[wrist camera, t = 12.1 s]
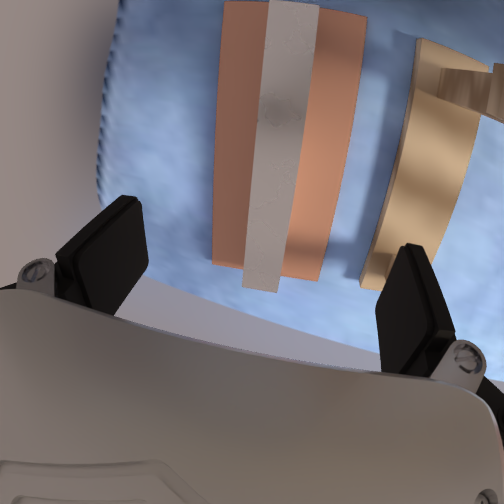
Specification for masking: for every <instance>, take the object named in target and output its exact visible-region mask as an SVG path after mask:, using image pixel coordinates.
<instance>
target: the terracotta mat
mask: <svg viewBox="0 0 504 504" xmlns="http://www.w3.org/2000/svg"><path fill="white" fill-rule="evenodd" d="M268 9H269V2H257V1H225V2H224V13H223V24H222V36H221V48H220V62H219V76H218V92H217V110H216V130H215V154H214V183H213V228H212V264H214V265H220V266H226V267H232V268H238V269H243V270H244V258H245V247H246V236H247V225H248V214H249V203H250V192H251V182H252V171H253V160H254V150H255V139H256V129H257V118H258V108H259V98H260V88H261V78H262V68H263V58H264V48H265V38H266V28H267V19H268ZM366 25H367V17H365V16H361V15H357V14H352V13H347V12H342V11H337V10H331V9H325V8H319V16H318V25H317V34H316V43H315V51H314V59H313V67H312V75H311V83H310V91H309V98H308V106H307V113H306V120H305V127H304V134H303V141H302V148H301V154H300V161H299V167H298V174H297V180H296V187H295V193H294V199H293V205H292V211H291V217H290V223H289V229H288V235H287V241H286V246H285V252H284V258H283V263H282V269H281V274H280V276H286V277H292V278H298V279H304V280H311V281H317V282H318V278H319V274H320V270H321V267H322V263H323V259H324V255H325V251H326V247H327V243H328V239H329V235H330V231H331V227H332V222H333V218H334V214H335V209H336V205H337V200H338V196H339V191H340V187H341V182H342V177H343V172H344V167H345V162H346V157H347V152H348V147H349V142H350V136H351V131H352V125H353V119H354V113H355V107H356V101H357V95H358V88H359V81H360V74H361V67H362V60H363V52H364V43H365V34H366Z"/></svg>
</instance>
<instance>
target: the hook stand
mask: <svg viewBox="0 0 504 504" xmlns="http://www.w3.org/2000/svg"><path fill="white" fill-rule="evenodd" d="M488 70H489V66H487V65H485V64H483V63H481V62H479V61H477V60H475V59H473V58H470V57H468V56H466V55H464V54H462V53H459V52H457V51H455V50H452V49H450V48H448V47H445V46H443V45H440V44H438V43H435V42H432V41H430V40H427V39H424V38H419V39H417V41H416V49H415V57H414V65H413V72H412V78H411V84H410V90H409V96H408V102H407V107H406V113H405V118H404V123H403V127H402V132H401V137H400V141H399V146H398V150H397V154H396V158H395V163H394V167H393V171H392V175H391V178H390V182H389V186H388V190H387V193H386V197H385V200H384V204H383V207H382V211H381V214H380V218H379V221H378V224H377V227H376V231H375V234H374V237H373V240H372V243H371V246H370V249H369V252H368V255H367V258H366V261H365V264H364V267H363V270H362V273H361V276H360V278H359V283H360V288H364V289H371V290H377V291H382V290H383V287H384V285H385V283H386V280H387V278H388V276H389V273H390V271H391V268H392V266H393V263H394V261H395V258H396V256H397V253H398V251H399V248H400V247H401V246H405V245H406V243H412V244H416V245H421V246H423V248H424V250H425V252H426V255H427V257H428V259H429V262H430V264H432V262H433V260H434V257H435V255H436V253H437V250H438V248H439V246H440V243H441V241H442V238H443V236H444V234H445V231H446V229H447V226H448V223H449V221H450V218H451V215H452V213H453V210H454V207H455V204H456V202H457V199H458V196H459V193H460V190H461V187H462V184H463V181H464V177H465V174H466V171H467V168H468V164H469V161H470V157H471V154H472V150H473V146H474V142H475V138H476V134H477V130H478V126H479V121H480V116H481V114H482V115H484V116H487V117H489V118H492V119H494V120H496V121H499V122H501V123H503V124H504V64H499V63H494V66H493V73H488Z"/></svg>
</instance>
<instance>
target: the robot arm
mask: <svg viewBox="0 0 504 504" xmlns="http://www.w3.org/2000/svg"><path fill="white" fill-rule="evenodd" d="M55 255H56V258H57V262H56V263H55V264H54V263H53V262H52V260H50V259H47V258H40V259H36V260H33V261H31V262H29V263H28V264H26V265H25V266H24V267H23V268H22V269H21V270H20V272H19V274H18V278H17V283H14V284H11V285H8V286H5V287H2V288H0V504H504V394H503V393H502V392H501V391H500V390H499V389H498V388H497V387H496V386H495V385H494V384H493V383H491V382H490V381H489V380H488V379H487V378H486V377H485V376H484V374H485V371H486V367H487V366H486V360H485V357H484V355H483V353H482V352H481V350H480V349H479V348H478V347H477V346H476V345H475V344H473V343H471V342H470V341H466V340H456V336H455V332H456V331H455V328H454V325H453V322H452V319H451V316H450V313H449V310H448V308H447V305H446V302H445V299H444V297H443V294H442V291H441V289H440V286H439V284H438V281H437V279H436V276H435V274H434V271H433V269H432V266H431V264H430V262H429V259H428V257H427V255H426V252H425V250H424V248H423V246H421V245H416V244H412V243H406V245H405V246H401V247H400V248H399V251H398V253H397V256H396V258H395V261H394V263H393V266H392V268H391V271H390V273H389V276H388V278H387V280H386V283H385V285H384V287H383V290H382V292H381V294H380V296H379V299H378V301H377V303H376V308H375V314H376V322H377V330H378V339H379V349H380V360H381V372H376V371H368V370H361V369H353V368H346V367H339V366H332V365H325V364H318V363H312V362H306V361H300V360H294V359H289V358H283V357H277V356H272V355H267V354H262V353H257V352H252V351H247V350H242V349H237V348H233V347H229V346H224V345H220V344H215V343H211V342H207V341H203V340H198V339H194V338H190V337H186V336H182V335H179V334H175V333H171V332H167V331H164V330H160V329H156V328H153V327H149V326H146V325H142V324H138V323H135V322H131V321H128V320H125V319H122V318H119V317H115V316H114V314H115V313H116V311H117V310H118V309H119V306H121V304H122V303H123V301H124V300H125V298H126V297H127V295H128V294H129V293H130V291H131V290H132V288H133V287H134V285H135V284H136V283H137V281H138V280H139V279H140V277H141V276H142V274H143V273H144V272H145V270H146V269H147V267H148V262H149V259H148V252H147V245H146V237H145V229H144V221H143V212H142V204H141V202H140V201H138V199H137V197H135V196H127V195H121V196H120V197H118V198H117V199H116V200H115V201H114V202H112V203H111V204H110V205H109V206H108V207H106V208H105V209H104V210H103V211H102V212H101V213H99V214H98V215H97V216H96V217H95V218H94V219H92V220H91V221H90V222H89V223H88V224H87V225H86V226H85V227H83V228H82V229H81V230H80V231H79V232H78V233H77V234H76V235H75V236H74V237H73V238H72V239H70V241H68V242H67V243H66V244H65V245H64V246H63V247H62V248H61V249H60V250H59V251H58V252H57V253H56V254H55Z"/></svg>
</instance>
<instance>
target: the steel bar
mask: <svg viewBox="0 0 504 504" xmlns="http://www.w3.org/2000/svg"><path fill="white" fill-rule="evenodd" d="M319 6H320V5H314V4H307V3H299V2H290V1H280V0H269V9H268V19H267V28H266V38H265V48H264V58H263V68H262V78H261V88H260V98H259V108H258V118H257V129H256V139H255V150H254V160H253V171H252V182H251V192H250V203H249V214H248V225H247V236H246V247H245V258H244V270H243V281H242V287H245V288H251V289H257V290H262V291H268V292H274V293H277V291H278V285H279V280H280V274H281V269H282V263H283V258H284V252H285V246H286V241H287V235H288V229H289V223H290V217H291V211H292V205H293V199H294V193H295V187H296V180H297V174H298V167H299V161H300V154H301V148H302V141H303V134H304V127H305V120H306V113H307V106H308V98H309V91H310V83H311V75H312V67H313V59H314V51H315V43H316V34H317V25H318V16H319Z"/></svg>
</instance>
